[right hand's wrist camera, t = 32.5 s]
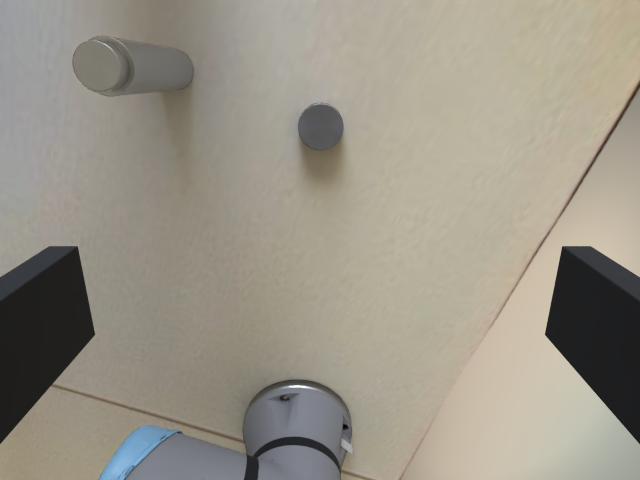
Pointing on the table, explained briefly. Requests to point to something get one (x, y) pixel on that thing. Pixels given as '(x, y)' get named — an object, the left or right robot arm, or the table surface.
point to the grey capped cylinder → (130, 67)
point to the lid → (320, 126)
